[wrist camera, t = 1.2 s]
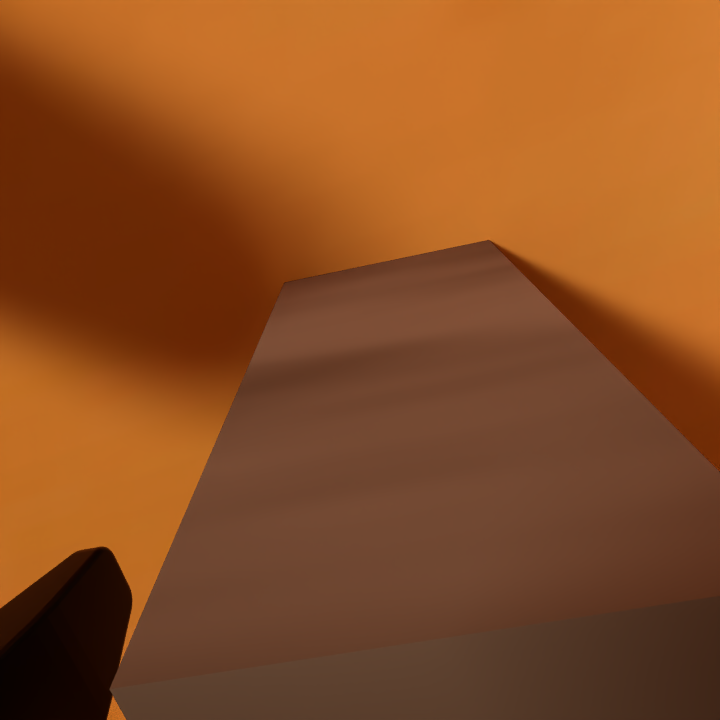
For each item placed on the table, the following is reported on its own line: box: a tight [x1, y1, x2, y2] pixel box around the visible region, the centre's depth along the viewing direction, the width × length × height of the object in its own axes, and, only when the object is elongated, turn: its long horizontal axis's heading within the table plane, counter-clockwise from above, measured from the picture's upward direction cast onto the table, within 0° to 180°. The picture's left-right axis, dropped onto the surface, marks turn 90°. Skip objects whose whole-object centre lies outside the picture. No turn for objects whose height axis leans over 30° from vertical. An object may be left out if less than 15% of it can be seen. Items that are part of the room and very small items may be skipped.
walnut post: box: [110, 240, 720, 720], centre depth 8 cm, size 4×4×9 cm
